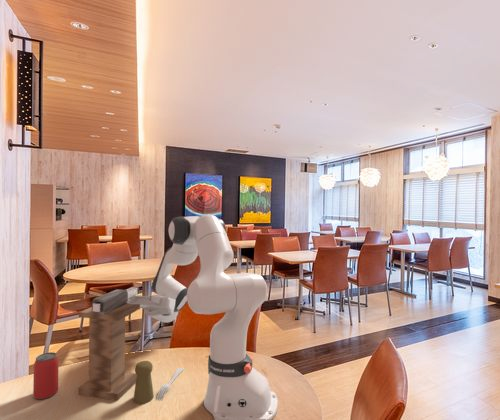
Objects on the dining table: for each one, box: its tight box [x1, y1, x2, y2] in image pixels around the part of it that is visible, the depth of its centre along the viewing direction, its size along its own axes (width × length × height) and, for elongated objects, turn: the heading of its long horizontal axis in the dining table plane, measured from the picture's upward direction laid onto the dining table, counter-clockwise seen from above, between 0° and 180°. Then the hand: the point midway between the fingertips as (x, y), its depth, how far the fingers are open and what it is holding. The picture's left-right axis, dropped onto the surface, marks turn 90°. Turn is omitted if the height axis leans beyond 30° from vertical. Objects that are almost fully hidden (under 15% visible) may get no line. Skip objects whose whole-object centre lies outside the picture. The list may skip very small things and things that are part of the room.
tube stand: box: [77, 289, 141, 401], centre depth 103 cm, size 14×12×31 cm
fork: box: [155, 367, 185, 402], centre depth 106 cm, size 3×21×3 cm, turn 173°
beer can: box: [32, 351, 59, 400], centre depth 99 cm, size 7×7×12 cm
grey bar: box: [93, 286, 140, 312], centre depth 107 cm, size 2×22×2 cm, turn 168°
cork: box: [132, 360, 154, 405], centre depth 97 cm, size 6×6×11 cm
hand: (139, 297), depth 120 cm, fingers open, 8 cm apart
